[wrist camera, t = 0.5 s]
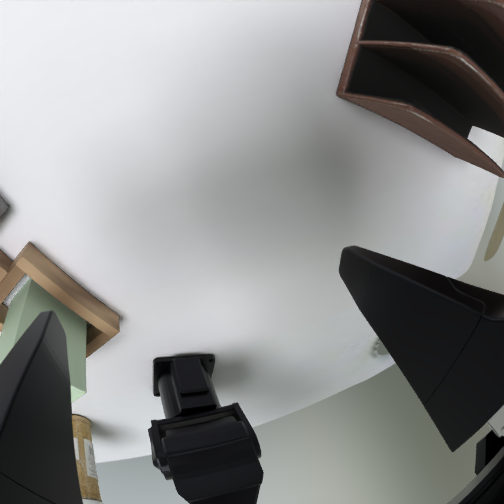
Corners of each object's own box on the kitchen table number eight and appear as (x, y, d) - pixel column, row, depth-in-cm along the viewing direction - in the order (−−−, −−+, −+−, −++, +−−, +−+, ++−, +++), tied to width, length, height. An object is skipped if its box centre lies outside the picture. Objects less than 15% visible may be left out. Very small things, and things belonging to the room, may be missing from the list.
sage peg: (87, 314, 23) (86, 392, 17) (62, 337, 23) (58, 412, 17) (34, 273, 19) (12, 350, 13) (11, 300, 19) (-9, 375, 13)
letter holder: (360, -7, 17) (519, -10, 6) (473, 85, 25) (573, 123, 14) (332, 95, 21) (496, 147, 10) (453, 156, 30) (549, 209, 19)
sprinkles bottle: (58, 410, 28) (67, 511, 17) (93, 416, 30) (108, 514, 20) (58, 426, 29) (67, 517, 19) (90, 431, 32) (104, 520, 21)
